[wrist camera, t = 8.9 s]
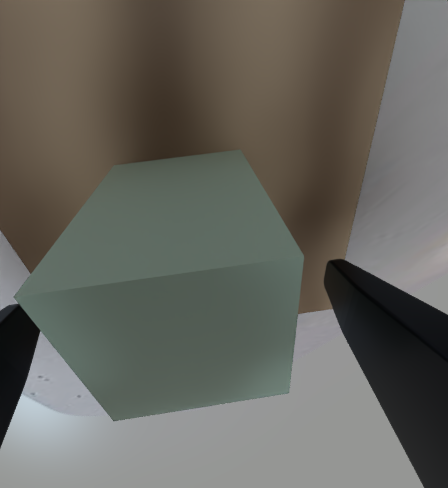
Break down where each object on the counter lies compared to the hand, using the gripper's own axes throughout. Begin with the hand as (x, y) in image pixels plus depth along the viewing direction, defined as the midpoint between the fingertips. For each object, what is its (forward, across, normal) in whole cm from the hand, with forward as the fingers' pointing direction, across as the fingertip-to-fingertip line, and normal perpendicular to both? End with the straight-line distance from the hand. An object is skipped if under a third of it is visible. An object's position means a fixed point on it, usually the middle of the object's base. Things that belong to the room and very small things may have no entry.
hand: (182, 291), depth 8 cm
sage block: (+5, 0, 0) cm, 5 cm away
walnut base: (+7, 0, 0) cm, 7 cm away
